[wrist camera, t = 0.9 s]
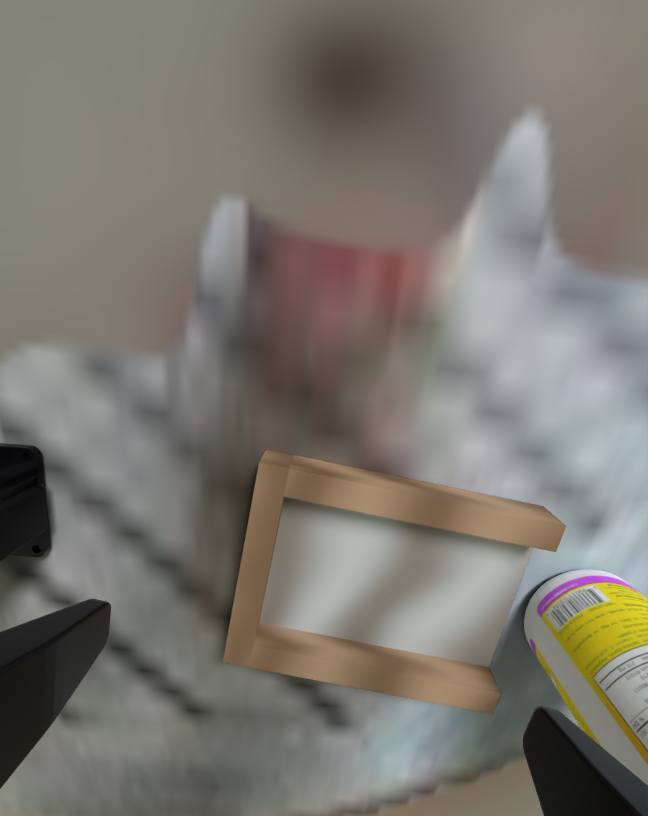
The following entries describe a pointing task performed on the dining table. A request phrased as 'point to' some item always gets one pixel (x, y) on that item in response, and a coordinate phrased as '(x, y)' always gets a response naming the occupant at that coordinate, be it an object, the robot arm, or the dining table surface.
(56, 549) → the dining table surface
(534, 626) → the supplement bottle
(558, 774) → the robot arm
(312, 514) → the open-ended tray
